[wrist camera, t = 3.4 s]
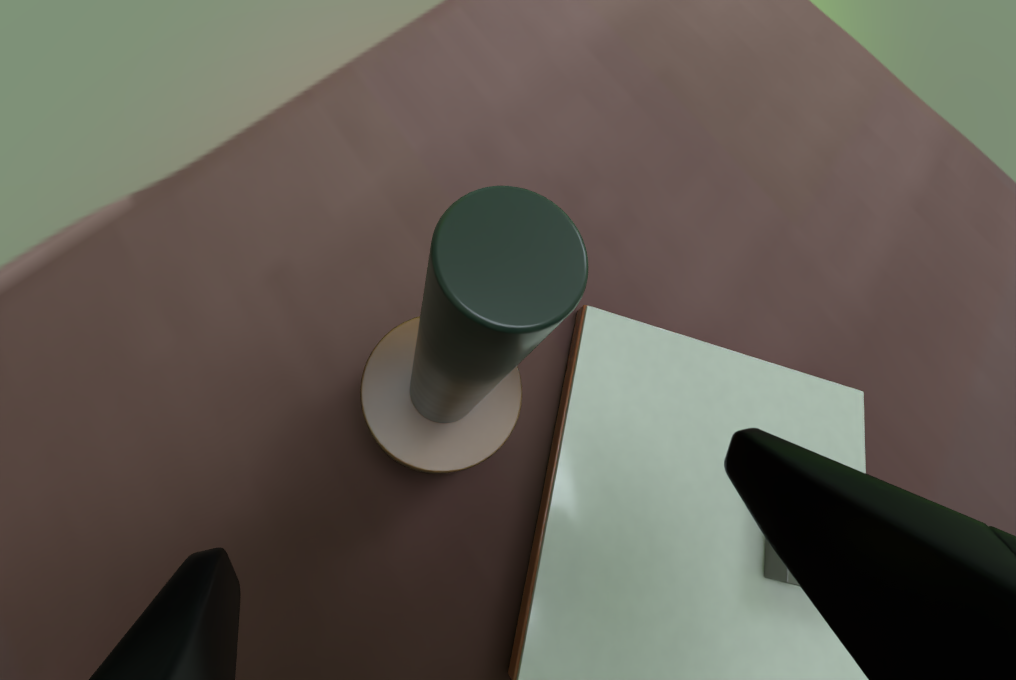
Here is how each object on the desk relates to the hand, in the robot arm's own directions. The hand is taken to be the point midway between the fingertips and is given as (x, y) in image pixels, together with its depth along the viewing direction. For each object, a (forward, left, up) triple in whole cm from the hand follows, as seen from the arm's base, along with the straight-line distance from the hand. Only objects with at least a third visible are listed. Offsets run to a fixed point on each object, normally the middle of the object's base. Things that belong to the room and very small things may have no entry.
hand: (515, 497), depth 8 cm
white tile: (+8, -7, -10) cm, 15 cm away
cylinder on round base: (+1, +3, -10) cm, 11 cm away
